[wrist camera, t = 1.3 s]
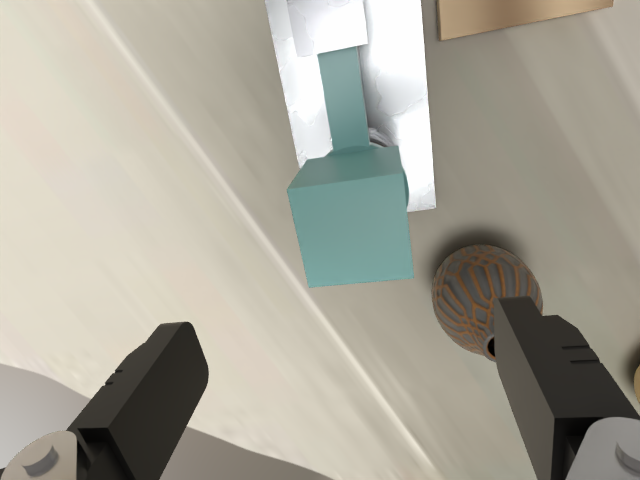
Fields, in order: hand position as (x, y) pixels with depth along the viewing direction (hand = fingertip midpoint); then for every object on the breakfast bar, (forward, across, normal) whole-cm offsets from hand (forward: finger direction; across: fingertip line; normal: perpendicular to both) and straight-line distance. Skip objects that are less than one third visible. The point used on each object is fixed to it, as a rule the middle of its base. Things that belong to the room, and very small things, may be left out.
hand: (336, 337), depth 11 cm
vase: (+20, -7, +10) cm, 24 cm away
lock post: (+20, 0, -6) cm, 21 cm away
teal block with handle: (+13, 0, -4) cm, 13 cm away
